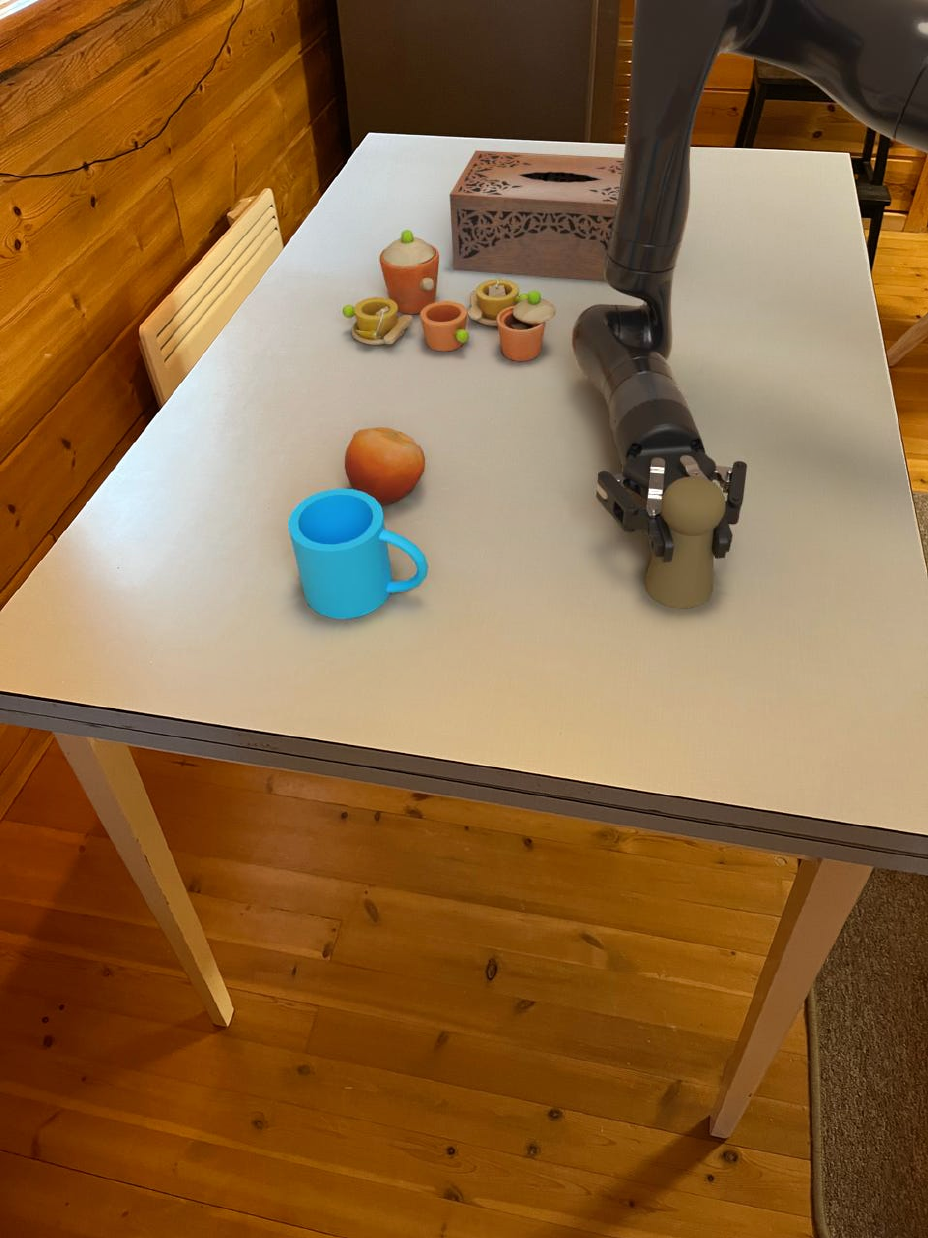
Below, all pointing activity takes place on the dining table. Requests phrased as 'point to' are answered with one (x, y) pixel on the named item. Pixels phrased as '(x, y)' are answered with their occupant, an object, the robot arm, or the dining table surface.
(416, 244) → the toy tea set
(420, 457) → the fruit
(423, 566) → the mug
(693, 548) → the cork
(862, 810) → the dining table surface
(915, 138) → the robot arm
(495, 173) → the tissue box cover
